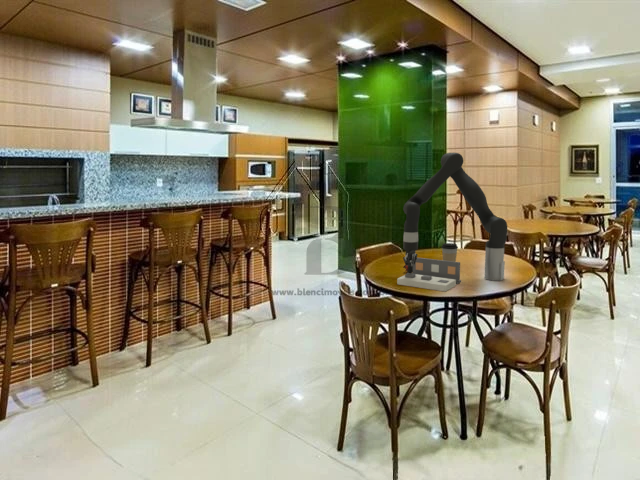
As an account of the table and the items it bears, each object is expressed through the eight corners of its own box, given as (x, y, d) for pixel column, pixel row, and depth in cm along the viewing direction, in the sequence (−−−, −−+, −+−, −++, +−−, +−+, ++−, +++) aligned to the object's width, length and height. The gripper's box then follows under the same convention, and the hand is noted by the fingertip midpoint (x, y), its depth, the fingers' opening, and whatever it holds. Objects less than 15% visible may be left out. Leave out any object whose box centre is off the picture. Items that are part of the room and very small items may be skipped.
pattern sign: (461, 282, 234) (461, 261, 233) (457, 284, 230) (457, 263, 228) (415, 275, 250) (415, 256, 248) (410, 277, 245) (410, 258, 243)
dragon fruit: (425, 275, 257) (404, 278, 256) (420, 264, 263) (400, 267, 262) (426, 265, 251) (405, 269, 250) (421, 254, 257) (401, 258, 256)
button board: (455, 285, 228) (456, 279, 228) (445, 291, 217) (445, 285, 217) (409, 278, 243) (409, 273, 243) (397, 284, 232) (397, 278, 232)
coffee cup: (459, 268, 265) (460, 243, 263) (454, 271, 257) (455, 246, 255) (443, 266, 270) (444, 242, 268) (438, 270, 262) (439, 244, 260)
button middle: (431, 281, 230) (431, 275, 230) (428, 283, 227) (428, 277, 227) (424, 280, 233) (424, 274, 232) (421, 282, 230) (421, 276, 229)
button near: (448, 286, 225) (448, 280, 225) (445, 288, 222) (445, 282, 222) (440, 285, 228) (440, 279, 227) (437, 287, 224) (437, 281, 224)
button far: (415, 279, 236) (415, 273, 235) (412, 280, 233) (412, 275, 232) (408, 278, 238) (408, 272, 238) (405, 279, 235) (405, 274, 234)
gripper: (411, 242, 225) (411, 276, 227) (422, 239, 235) (422, 271, 238) (398, 241, 229) (397, 274, 232) (409, 238, 239) (409, 269, 242)
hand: (410, 272), depth 235 cm, fingers closed
